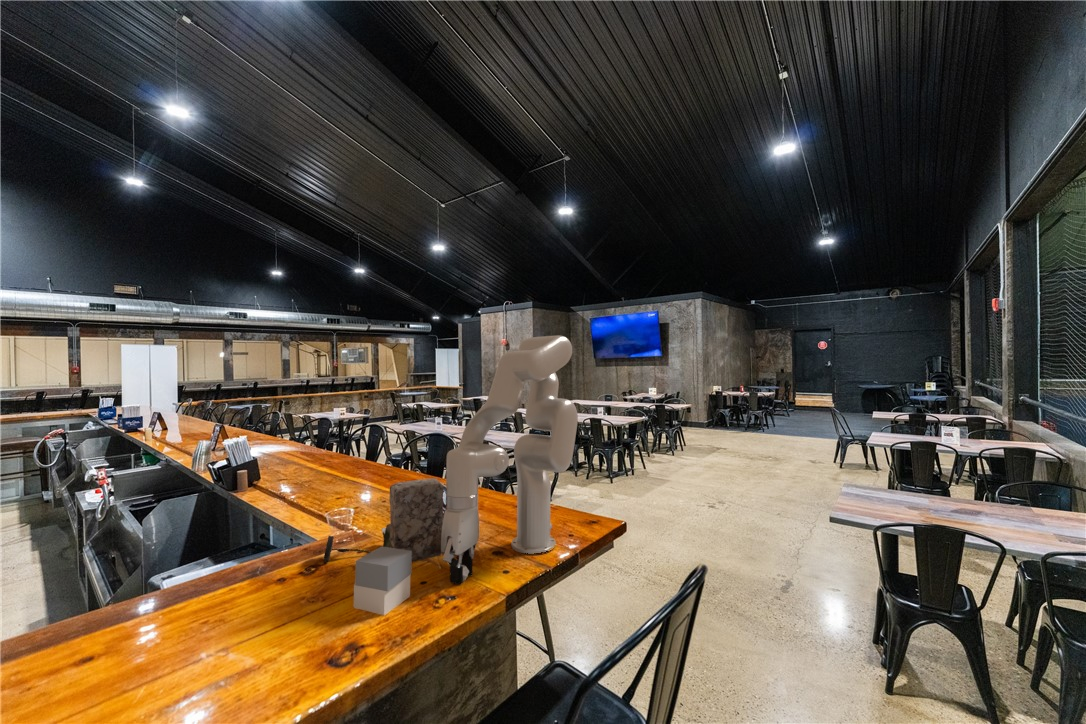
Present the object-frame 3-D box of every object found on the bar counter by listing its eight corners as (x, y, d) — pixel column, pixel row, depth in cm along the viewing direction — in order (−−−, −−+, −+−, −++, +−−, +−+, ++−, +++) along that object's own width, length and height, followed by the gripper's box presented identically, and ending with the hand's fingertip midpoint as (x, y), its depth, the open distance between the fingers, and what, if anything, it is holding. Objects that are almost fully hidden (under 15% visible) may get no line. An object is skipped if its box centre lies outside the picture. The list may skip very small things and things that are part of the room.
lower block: (381, 590, 96) (381, 568, 96) (410, 597, 93) (410, 574, 93) (353, 608, 88) (354, 584, 89) (384, 616, 85) (384, 591, 86)
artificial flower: (322, 560, 114) (329, 521, 117) (409, 557, 122) (412, 520, 126) (320, 564, 106) (327, 522, 110) (412, 561, 115) (416, 521, 118)
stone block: (395, 568, 106) (396, 488, 107) (386, 559, 112) (388, 482, 112) (444, 555, 114) (445, 480, 115) (434, 547, 120) (435, 476, 121)
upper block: (381, 568, 96) (381, 546, 96) (411, 573, 93) (411, 550, 93) (355, 585, 88) (355, 560, 88) (387, 591, 86) (387, 566, 86)
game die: (455, 584, 98) (455, 571, 98) (452, 577, 102) (452, 564, 102) (470, 581, 100) (470, 568, 100) (466, 574, 103) (466, 562, 103)
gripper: (467, 490, 110) (466, 562, 110) (427, 509, 95) (426, 592, 94) (492, 493, 108) (492, 567, 107) (455, 513, 92) (455, 598, 92)
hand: (461, 578), depth 101 cm, fingers closed on game die, 3 cm apart
